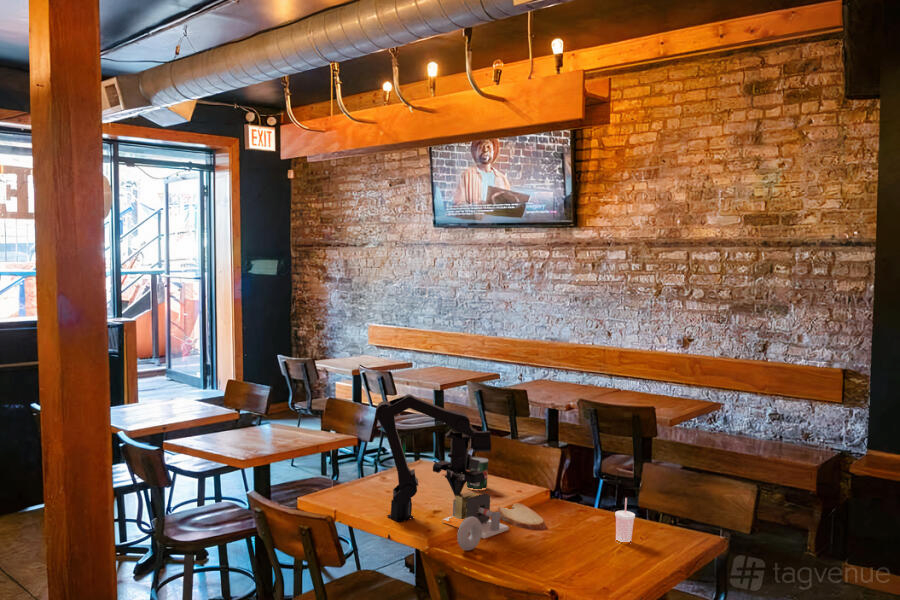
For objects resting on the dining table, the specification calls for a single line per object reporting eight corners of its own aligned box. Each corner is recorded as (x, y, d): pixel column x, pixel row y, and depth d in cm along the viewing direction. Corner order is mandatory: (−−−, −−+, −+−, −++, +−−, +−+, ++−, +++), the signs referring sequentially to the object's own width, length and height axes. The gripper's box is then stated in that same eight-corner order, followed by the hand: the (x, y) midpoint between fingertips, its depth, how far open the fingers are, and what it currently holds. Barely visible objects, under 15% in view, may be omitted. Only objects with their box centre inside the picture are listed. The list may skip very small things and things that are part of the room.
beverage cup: (619, 545, 236) (622, 501, 235) (610, 538, 241) (612, 495, 241) (637, 544, 237) (639, 500, 236) (627, 537, 243) (630, 494, 242)
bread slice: (545, 532, 245) (545, 521, 245) (490, 525, 249) (490, 514, 249) (550, 514, 263) (551, 504, 263) (499, 508, 267) (499, 498, 267)
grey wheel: (474, 543, 231) (476, 511, 231) (483, 547, 229) (485, 514, 229) (453, 552, 224) (455, 519, 223) (463, 556, 221) (464, 522, 221)
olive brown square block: (461, 519, 246) (462, 497, 246) (454, 517, 248) (455, 495, 248) (475, 514, 251) (477, 493, 251) (469, 512, 253) (470, 491, 253)
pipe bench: (484, 538, 236) (485, 517, 236) (442, 522, 248) (443, 502, 248) (508, 529, 245) (509, 509, 244) (466, 514, 257) (467, 495, 257)
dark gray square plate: (472, 526, 242) (473, 500, 241) (466, 524, 244) (467, 498, 243) (489, 520, 248) (490, 495, 248) (483, 518, 250) (484, 493, 249)
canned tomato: (464, 485, 291) (465, 456, 291) (484, 484, 293) (485, 456, 292) (468, 491, 283) (470, 462, 283) (489, 491, 285) (490, 462, 284)
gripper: (496, 453, 251) (494, 499, 252) (455, 441, 263) (452, 486, 264) (474, 458, 243) (472, 506, 244) (432, 446, 255) (430, 492, 256)
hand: (457, 497), depth 252 cm, fingers closed
